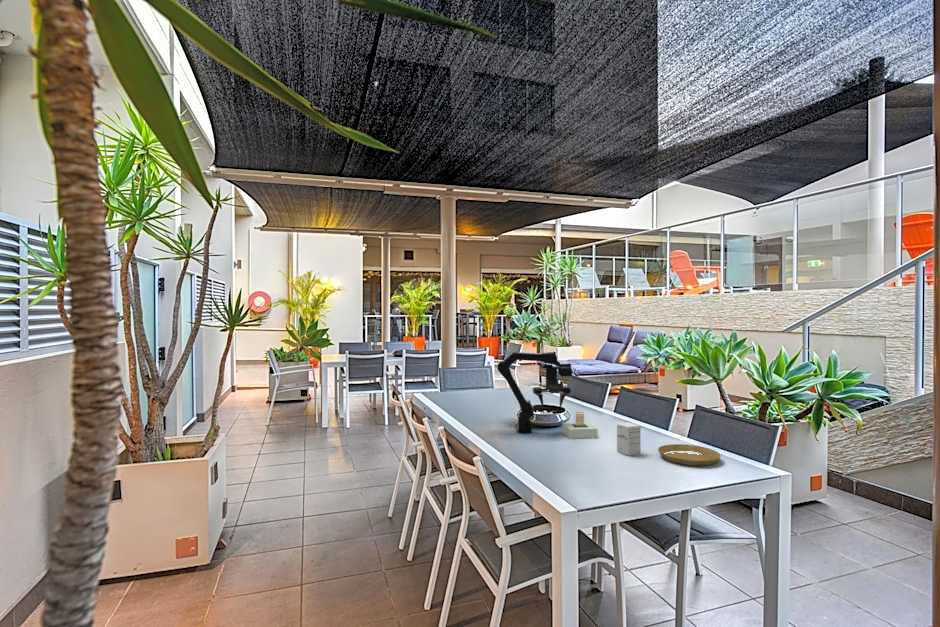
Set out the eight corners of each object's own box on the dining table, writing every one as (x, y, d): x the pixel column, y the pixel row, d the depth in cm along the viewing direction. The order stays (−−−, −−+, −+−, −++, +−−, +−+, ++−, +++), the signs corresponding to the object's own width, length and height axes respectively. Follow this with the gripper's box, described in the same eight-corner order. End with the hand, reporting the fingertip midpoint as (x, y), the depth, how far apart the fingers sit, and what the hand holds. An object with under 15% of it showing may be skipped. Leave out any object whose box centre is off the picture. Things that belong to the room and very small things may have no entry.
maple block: (584, 435, 244) (583, 413, 244) (575, 435, 245) (575, 413, 245) (583, 433, 248) (583, 412, 248) (575, 433, 249) (575, 411, 249)
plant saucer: (656, 448, 221) (656, 441, 221) (715, 453, 214) (715, 446, 214) (659, 465, 199) (659, 457, 199) (725, 471, 191) (725, 462, 191)
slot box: (569, 438, 239) (569, 429, 239) (562, 431, 253) (562, 422, 253) (597, 437, 240) (597, 428, 240) (589, 430, 254) (589, 422, 254)
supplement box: (616, 451, 217) (616, 423, 217) (629, 449, 220) (629, 421, 220) (628, 456, 210) (628, 427, 210) (641, 453, 213) (641, 425, 213)
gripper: (536, 379, 243) (536, 410, 243) (573, 378, 244) (573, 409, 244) (532, 376, 254) (532, 406, 254) (567, 375, 255) (567, 405, 255)
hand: (551, 406), depth 252 cm, fingers open, 9 cm apart
